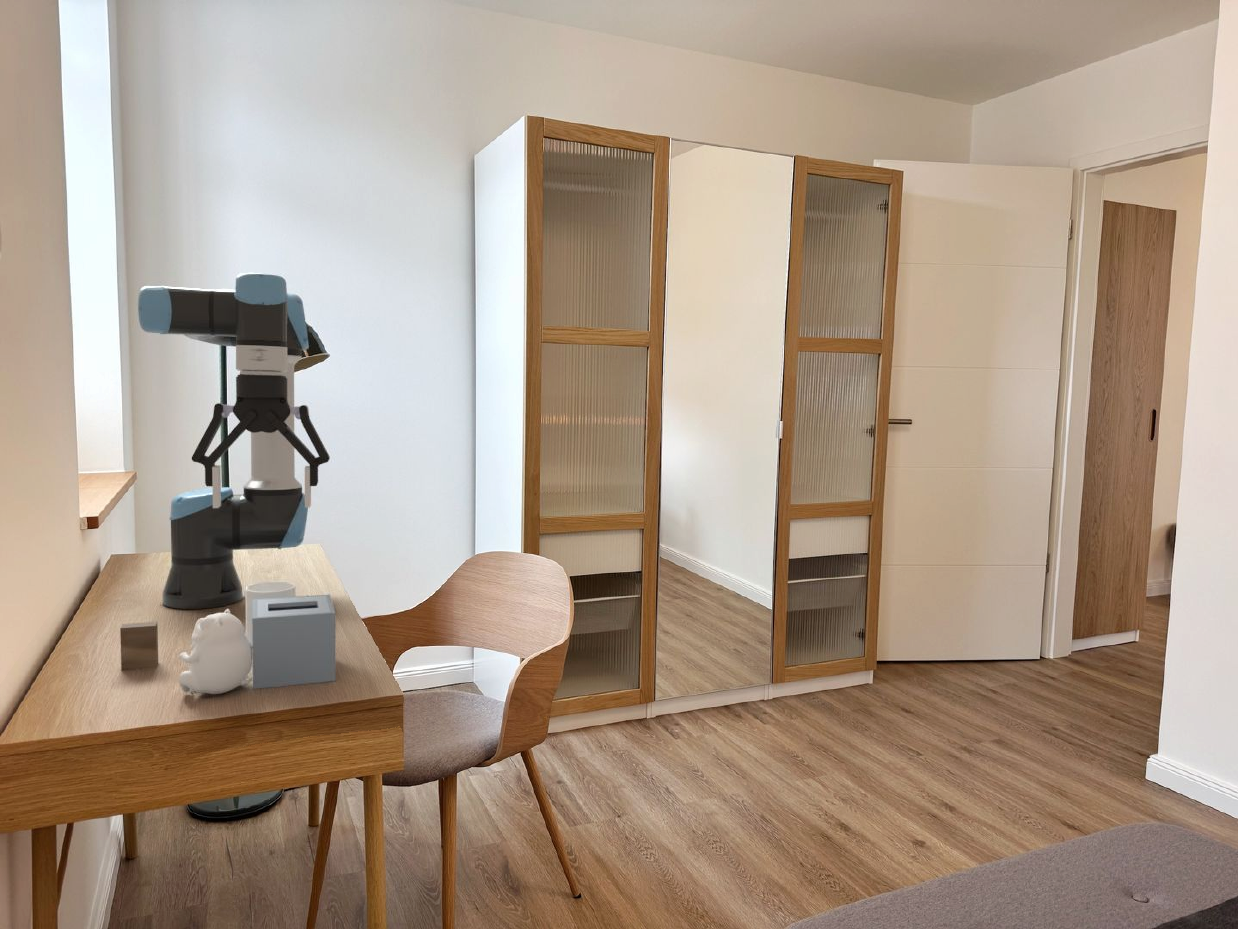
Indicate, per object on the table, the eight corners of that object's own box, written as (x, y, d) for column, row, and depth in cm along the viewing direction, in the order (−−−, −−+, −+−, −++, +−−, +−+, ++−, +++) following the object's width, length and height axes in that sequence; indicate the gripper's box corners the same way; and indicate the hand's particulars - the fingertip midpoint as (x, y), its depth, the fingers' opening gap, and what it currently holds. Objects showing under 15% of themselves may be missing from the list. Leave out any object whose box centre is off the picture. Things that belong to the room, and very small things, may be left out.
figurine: (264, 680, 137) (264, 605, 136) (240, 703, 127) (239, 623, 126) (200, 678, 137) (199, 604, 135) (171, 701, 127) (169, 621, 126)
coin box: (253, 664, 144) (252, 599, 143) (329, 657, 148) (329, 594, 147) (253, 689, 133) (252, 618, 132) (335, 681, 137) (335, 612, 136)
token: (123, 666, 141) (122, 624, 141) (158, 663, 143) (157, 621, 142) (121, 671, 139) (120, 628, 138) (156, 668, 141) (155, 625, 140)
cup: (243, 650, 151) (242, 593, 150) (251, 630, 162) (250, 577, 161) (294, 647, 153) (293, 591, 152) (298, 628, 165) (298, 575, 164)
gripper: (169, 370, 131) (172, 510, 133) (343, 376, 137) (343, 509, 139) (180, 371, 138) (182, 503, 140) (345, 376, 144) (345, 502, 146)
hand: (263, 506), depth 140 cm, fingers open, 13 cm apart
